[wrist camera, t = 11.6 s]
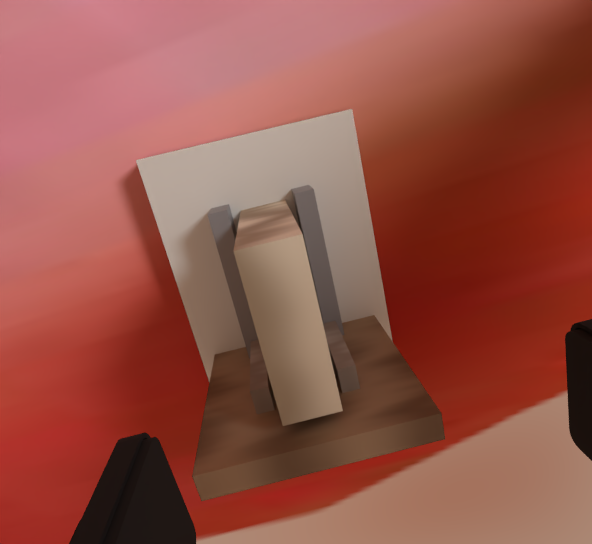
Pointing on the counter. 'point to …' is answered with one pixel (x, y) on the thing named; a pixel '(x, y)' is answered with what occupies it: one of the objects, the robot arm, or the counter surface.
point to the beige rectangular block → (286, 312)
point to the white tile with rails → (255, 192)
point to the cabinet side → (318, 431)
